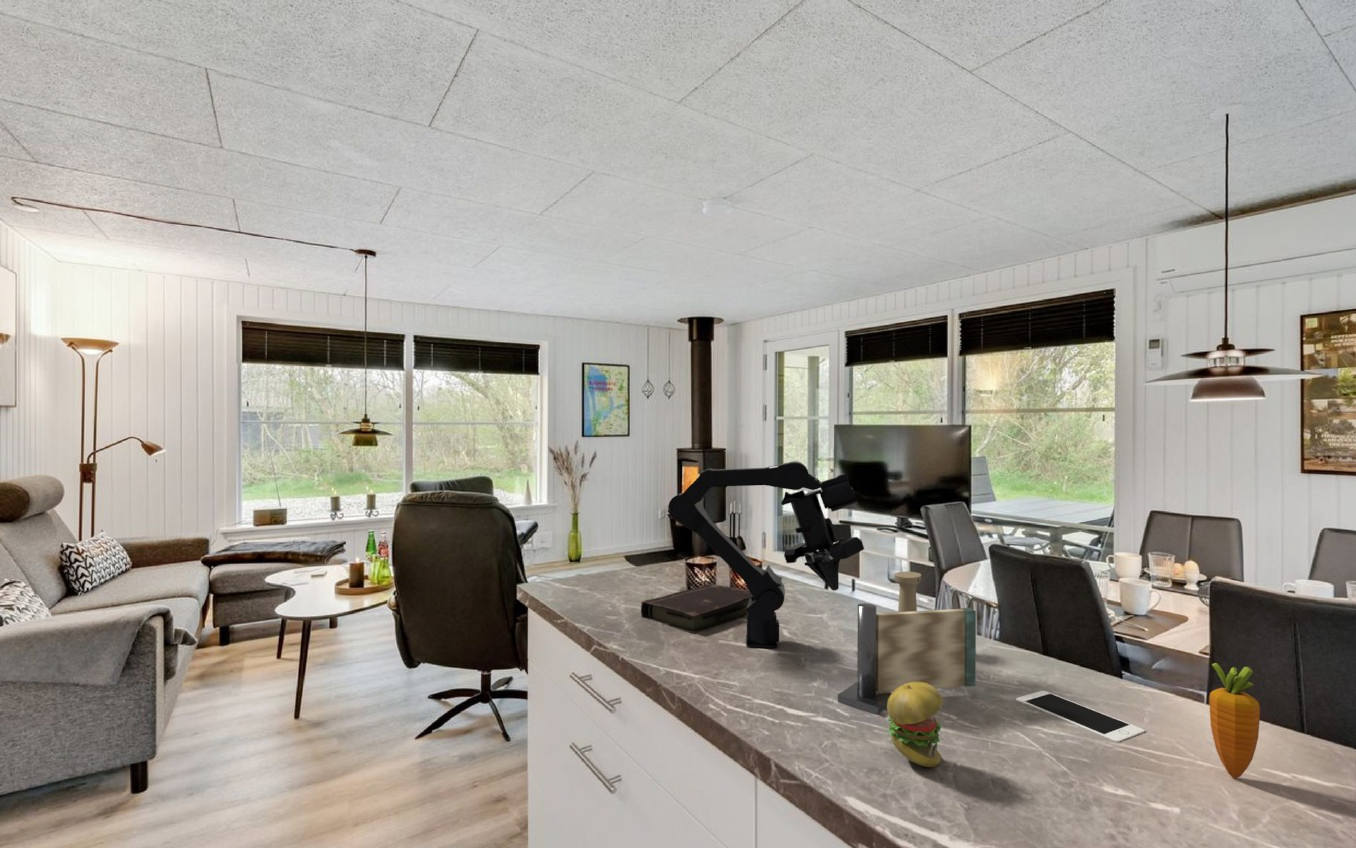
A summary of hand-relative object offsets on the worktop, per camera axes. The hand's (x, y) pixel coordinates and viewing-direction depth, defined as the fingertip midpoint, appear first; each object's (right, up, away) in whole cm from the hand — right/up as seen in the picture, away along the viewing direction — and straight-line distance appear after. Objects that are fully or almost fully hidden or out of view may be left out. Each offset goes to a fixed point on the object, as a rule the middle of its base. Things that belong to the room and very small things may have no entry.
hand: (835, 589), depth 129 cm
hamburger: (0, -12, -44) cm, 46 cm away
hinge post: (-1, -12, -25) cm, 28 cm away
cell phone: (+31, -13, -30) cm, 45 cm away
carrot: (+40, -12, -48) cm, 64 cm away
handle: (+16, -13, +2) cm, 20 cm away
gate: (+9, -11, -23) cm, 27 cm away
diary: (-27, -13, +23) cm, 38 cm away
